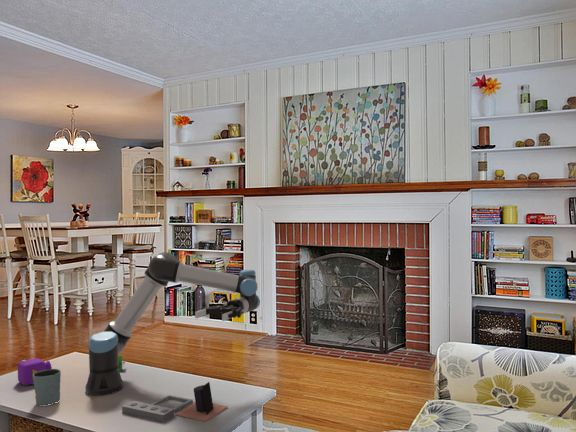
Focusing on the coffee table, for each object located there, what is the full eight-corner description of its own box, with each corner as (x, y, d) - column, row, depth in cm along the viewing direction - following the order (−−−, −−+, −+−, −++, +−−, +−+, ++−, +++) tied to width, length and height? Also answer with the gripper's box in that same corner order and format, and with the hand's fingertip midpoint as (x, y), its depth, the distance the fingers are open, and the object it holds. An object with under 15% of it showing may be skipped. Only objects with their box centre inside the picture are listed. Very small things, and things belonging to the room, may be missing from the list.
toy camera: (56, 378, 226) (56, 357, 226) (27, 387, 214) (26, 365, 214) (43, 374, 232) (42, 353, 232) (13, 383, 220) (13, 361, 220)
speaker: (218, 409, 184) (214, 381, 185) (206, 415, 180) (203, 387, 180) (204, 406, 189) (201, 379, 189) (193, 412, 185) (189, 385, 185)
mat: (175, 415, 182) (175, 413, 182) (198, 401, 194) (198, 400, 194) (206, 421, 175) (206, 420, 175) (227, 407, 188) (227, 406, 188)
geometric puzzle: (110, 363, 241) (109, 352, 236) (125, 361, 243) (124, 351, 238) (110, 375, 235) (109, 365, 231) (125, 373, 237) (124, 363, 233)
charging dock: (122, 412, 185) (121, 405, 185) (157, 395, 202) (157, 388, 202) (163, 422, 176) (163, 414, 176) (196, 402, 193) (196, 395, 193)
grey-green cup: (57, 406, 193) (56, 375, 193) (29, 408, 191) (28, 377, 191) (64, 396, 203) (63, 367, 203) (38, 398, 201) (37, 369, 201)
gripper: (261, 317, 216) (234, 328, 198) (214, 313, 228) (185, 322, 209) (260, 300, 216) (234, 309, 197) (214, 297, 228) (185, 305, 209)
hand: (209, 316), depth 203 cm, fingers open, 13 cm apart
